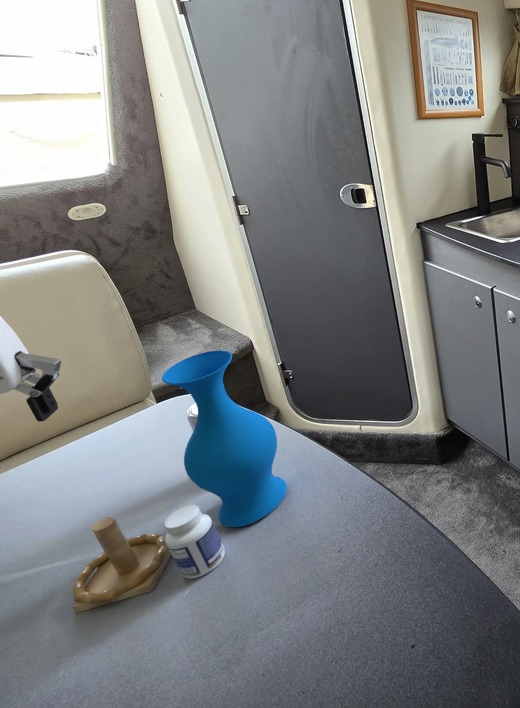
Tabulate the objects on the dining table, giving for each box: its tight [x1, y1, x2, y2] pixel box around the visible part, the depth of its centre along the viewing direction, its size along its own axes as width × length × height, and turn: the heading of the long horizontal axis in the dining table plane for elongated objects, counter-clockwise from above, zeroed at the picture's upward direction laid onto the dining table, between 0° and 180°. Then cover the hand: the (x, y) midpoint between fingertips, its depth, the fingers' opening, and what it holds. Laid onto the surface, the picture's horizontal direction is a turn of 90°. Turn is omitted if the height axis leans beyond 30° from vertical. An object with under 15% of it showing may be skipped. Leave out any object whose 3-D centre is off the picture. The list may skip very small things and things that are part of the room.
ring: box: [72, 532, 168, 604], centre depth 73 cm, size 10×10×1 cm
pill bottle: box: [164, 504, 226, 580], centre depth 73 cm, size 5×5×10 cm
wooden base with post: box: [71, 516, 172, 614], centre depth 72 cm, size 9×9×10 cm
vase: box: [161, 349, 288, 528], centre depth 79 cm, size 12×13×28 cm
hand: (5, 422), depth 70 cm, fingers open, 9 cm apart
